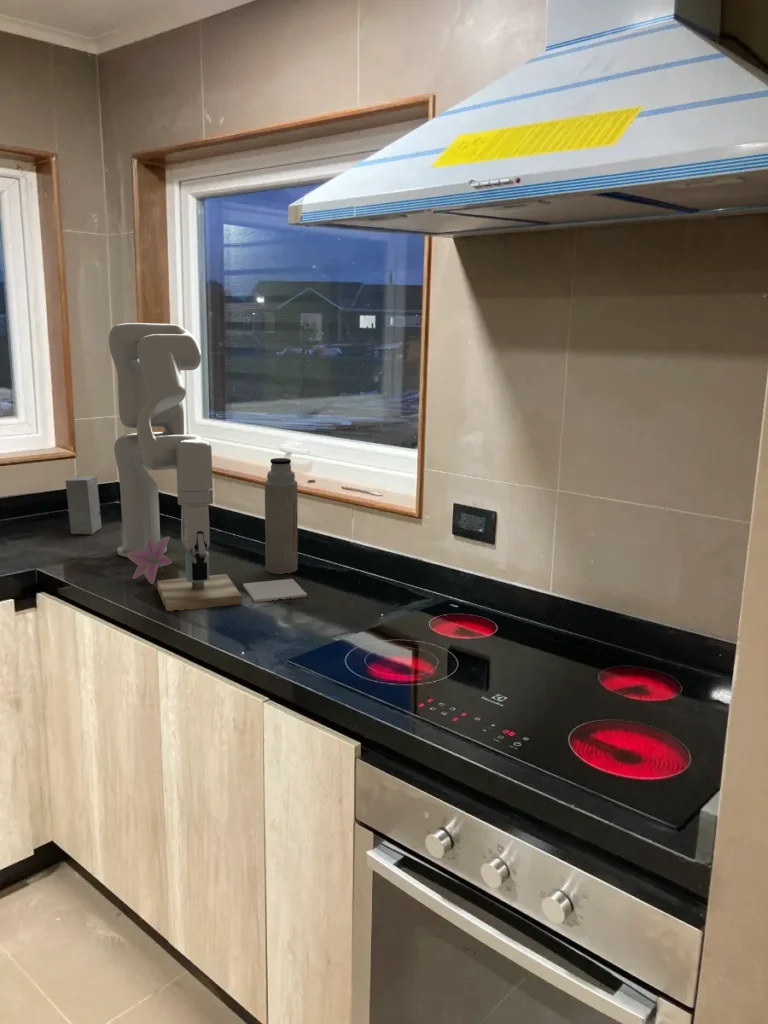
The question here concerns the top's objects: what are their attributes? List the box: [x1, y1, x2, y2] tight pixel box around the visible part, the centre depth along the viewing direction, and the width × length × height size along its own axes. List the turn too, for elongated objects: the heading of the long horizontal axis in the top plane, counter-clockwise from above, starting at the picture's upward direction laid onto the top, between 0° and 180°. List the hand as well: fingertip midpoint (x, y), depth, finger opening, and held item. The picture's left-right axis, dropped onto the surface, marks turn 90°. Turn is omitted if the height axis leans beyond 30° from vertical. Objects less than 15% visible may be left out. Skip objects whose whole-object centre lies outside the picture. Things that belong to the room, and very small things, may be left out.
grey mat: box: [242, 578, 308, 603], centre depth 189 cm, size 12×12×1 cm
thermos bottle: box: [264, 457, 299, 575], centre depth 203 cm, size 8×8×28 cm
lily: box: [126, 535, 173, 585], centre depth 198 cm, size 12×12×10 cm
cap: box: [184, 550, 210, 583], centre depth 184 cm, size 5×5×6 cm
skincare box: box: [65, 475, 102, 535], centre depth 236 cm, size 8×7×16 cm
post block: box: [156, 573, 242, 612], centre depth 184 cm, size 16×16×9 cm
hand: (197, 575), depth 184 cm, fingers closed on cap, 4 cm apart
